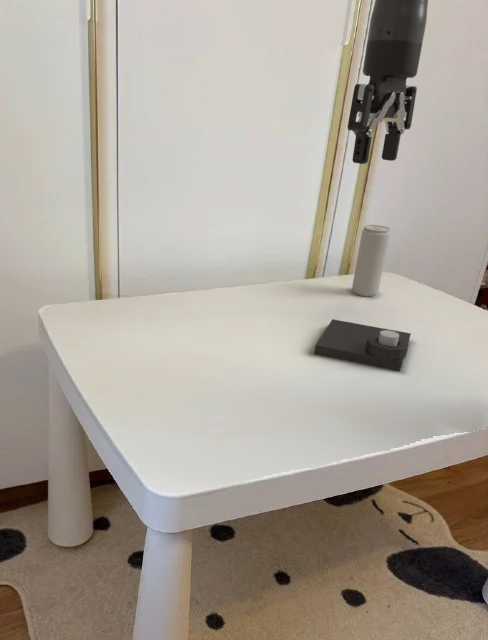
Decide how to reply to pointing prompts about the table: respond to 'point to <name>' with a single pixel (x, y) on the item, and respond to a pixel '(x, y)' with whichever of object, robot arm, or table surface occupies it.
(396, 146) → the robot arm
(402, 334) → the scale
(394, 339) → the button
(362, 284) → the beverage can
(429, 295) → the table surface
